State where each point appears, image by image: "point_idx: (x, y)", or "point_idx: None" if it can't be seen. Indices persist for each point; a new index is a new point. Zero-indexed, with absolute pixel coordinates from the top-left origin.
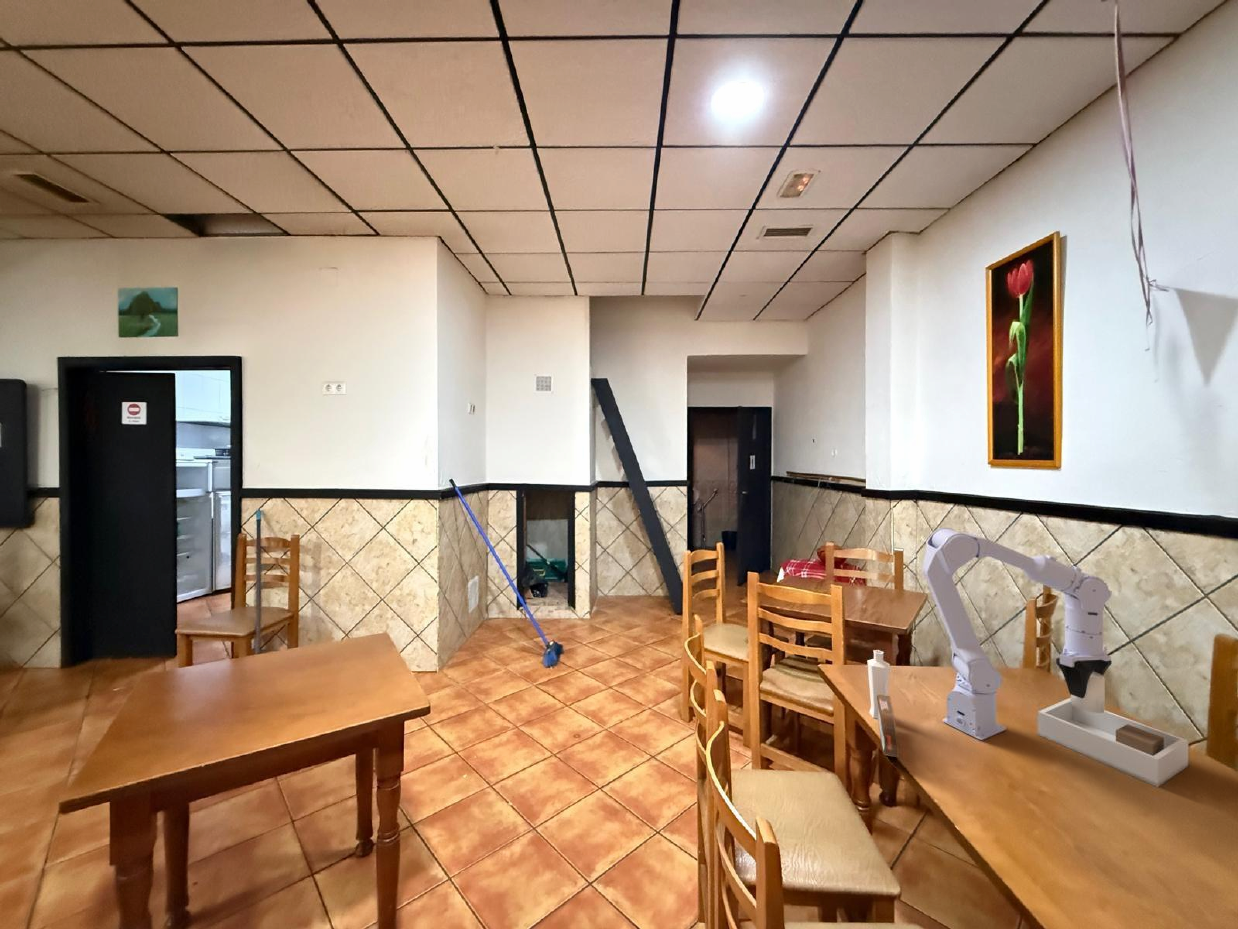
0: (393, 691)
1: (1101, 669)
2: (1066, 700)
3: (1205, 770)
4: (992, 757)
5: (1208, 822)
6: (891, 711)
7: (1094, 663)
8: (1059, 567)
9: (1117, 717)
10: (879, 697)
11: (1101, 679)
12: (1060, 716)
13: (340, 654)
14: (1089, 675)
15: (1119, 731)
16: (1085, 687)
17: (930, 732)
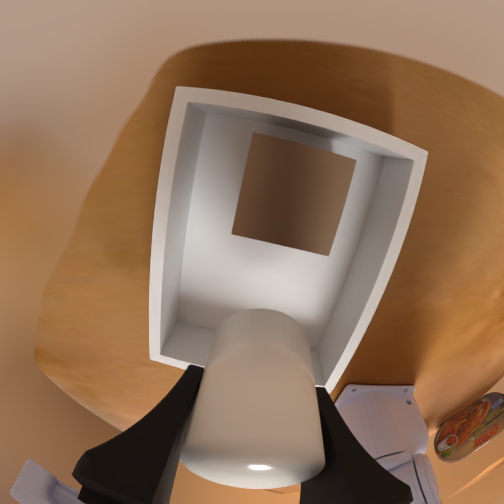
0: (482, 473)
1: (168, 462)
2: (179, 365)
3: (190, 76)
4: (453, 358)
5: (448, 91)
6: (494, 435)
7: (163, 492)
8: None
9: (164, 261)
10: (465, 457)
11: (295, 442)
12: None
13: (459, 492)
14: (361, 477)
15: (330, 247)
16: (338, 424)
17: (422, 414)
